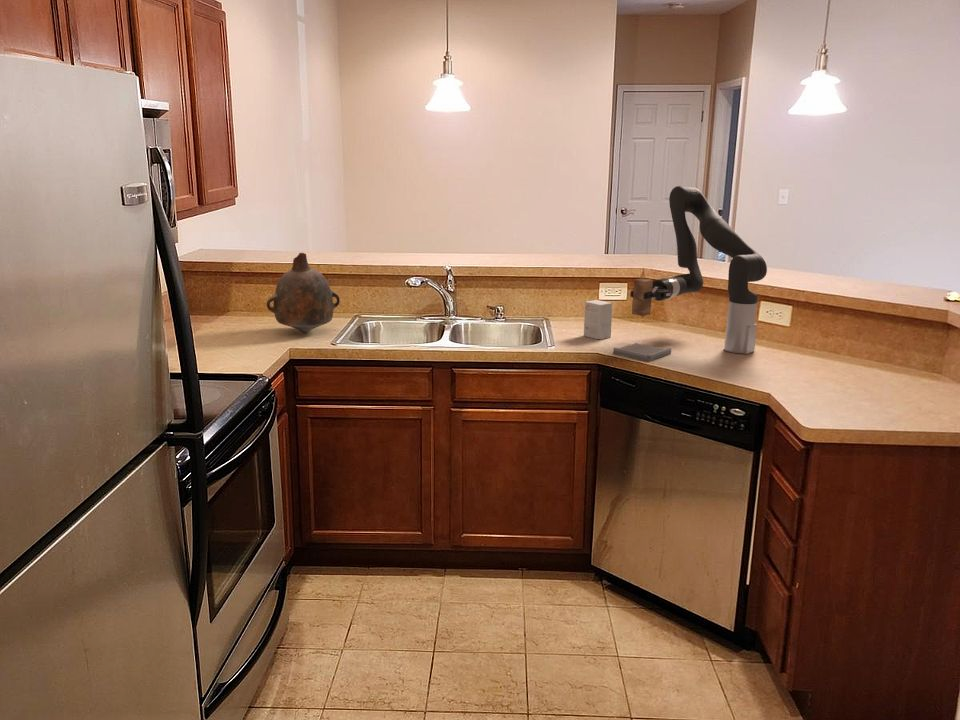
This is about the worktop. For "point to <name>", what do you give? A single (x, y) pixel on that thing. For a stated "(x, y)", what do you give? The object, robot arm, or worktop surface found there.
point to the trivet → (642, 352)
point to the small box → (598, 319)
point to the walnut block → (641, 297)
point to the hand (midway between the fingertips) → (638, 295)
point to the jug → (303, 297)
